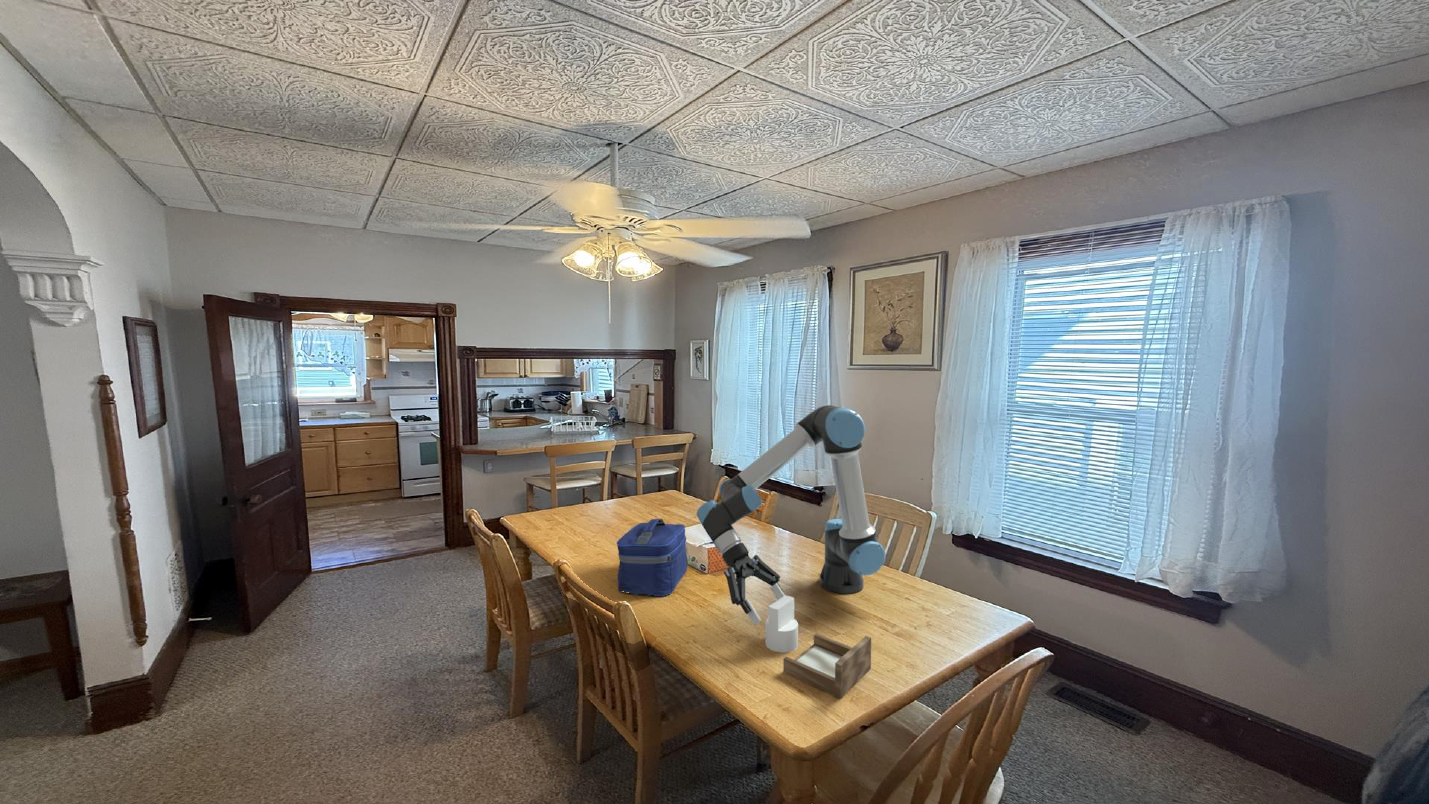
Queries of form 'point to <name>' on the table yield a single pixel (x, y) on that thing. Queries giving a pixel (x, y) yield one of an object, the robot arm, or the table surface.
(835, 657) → the walnut rest
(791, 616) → the base with upright slab
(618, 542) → the lunch bag
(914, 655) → the table surface
